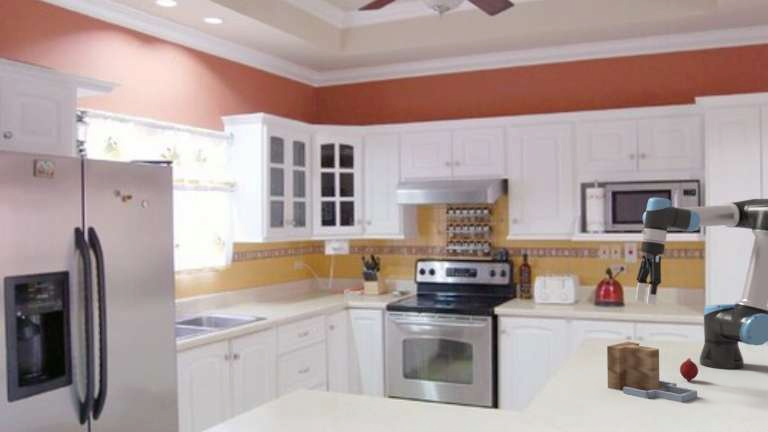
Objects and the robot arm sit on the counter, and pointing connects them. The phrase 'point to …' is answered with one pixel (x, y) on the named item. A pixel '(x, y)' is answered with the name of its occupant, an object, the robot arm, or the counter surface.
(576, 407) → the counter surface
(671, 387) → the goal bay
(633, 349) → the tee block
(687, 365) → the onion
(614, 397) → the counter surface
